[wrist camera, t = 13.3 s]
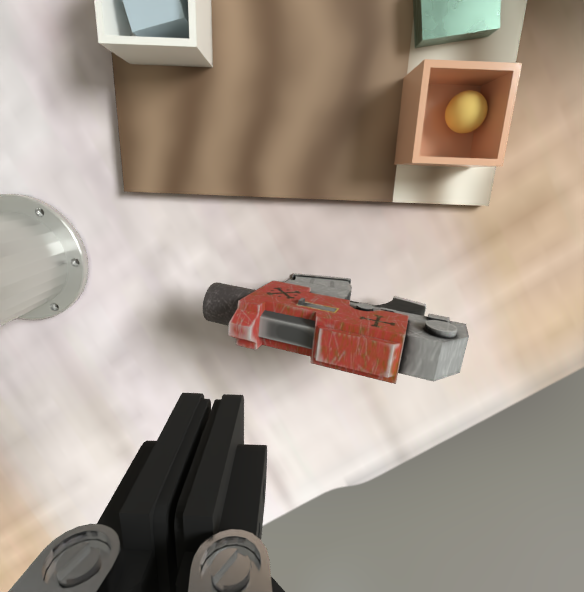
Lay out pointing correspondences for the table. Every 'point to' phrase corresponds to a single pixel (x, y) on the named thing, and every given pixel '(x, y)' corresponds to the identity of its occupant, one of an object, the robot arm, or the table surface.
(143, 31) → the block
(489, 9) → the tin
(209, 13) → the white open cubby box
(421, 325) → the toy gun
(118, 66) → the board
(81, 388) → the table surface
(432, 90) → the peach open cubby box
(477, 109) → the ball
